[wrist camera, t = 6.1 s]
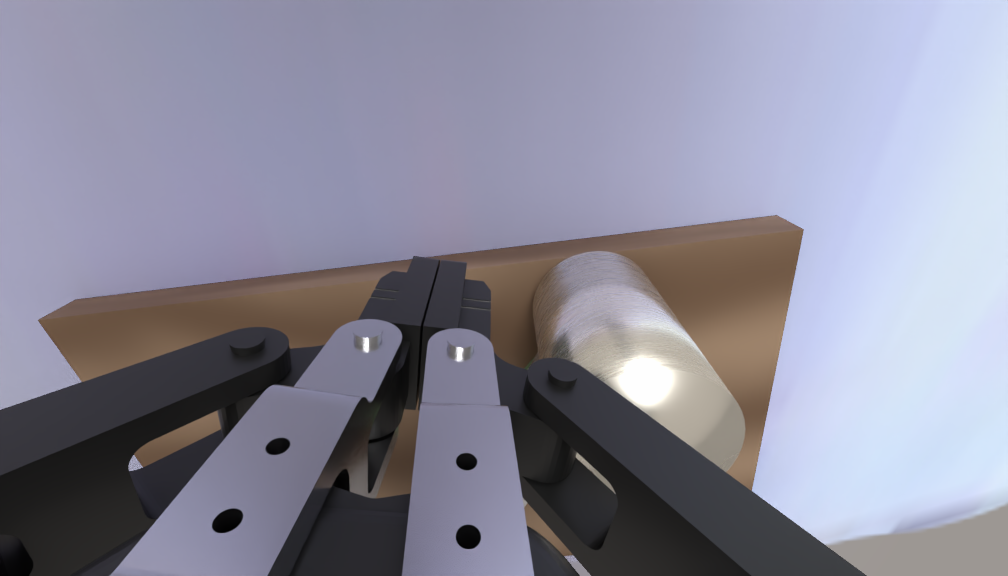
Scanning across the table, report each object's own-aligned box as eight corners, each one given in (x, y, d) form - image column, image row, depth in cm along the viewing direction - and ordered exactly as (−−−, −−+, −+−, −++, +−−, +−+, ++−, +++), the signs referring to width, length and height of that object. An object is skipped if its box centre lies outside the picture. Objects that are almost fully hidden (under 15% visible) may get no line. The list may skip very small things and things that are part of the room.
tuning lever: (566, 231, 13) (612, 342, 8) (676, 278, 14) (786, 408, 9) (407, 534, 20) (373, 707, 14) (488, 554, 20) (485, 726, 15)
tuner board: (75, 299, 16) (33, 322, 15) (776, 215, 15) (806, 231, 14) (242, 555, 24) (225, 587, 22) (727, 512, 22) (743, 543, 21)
